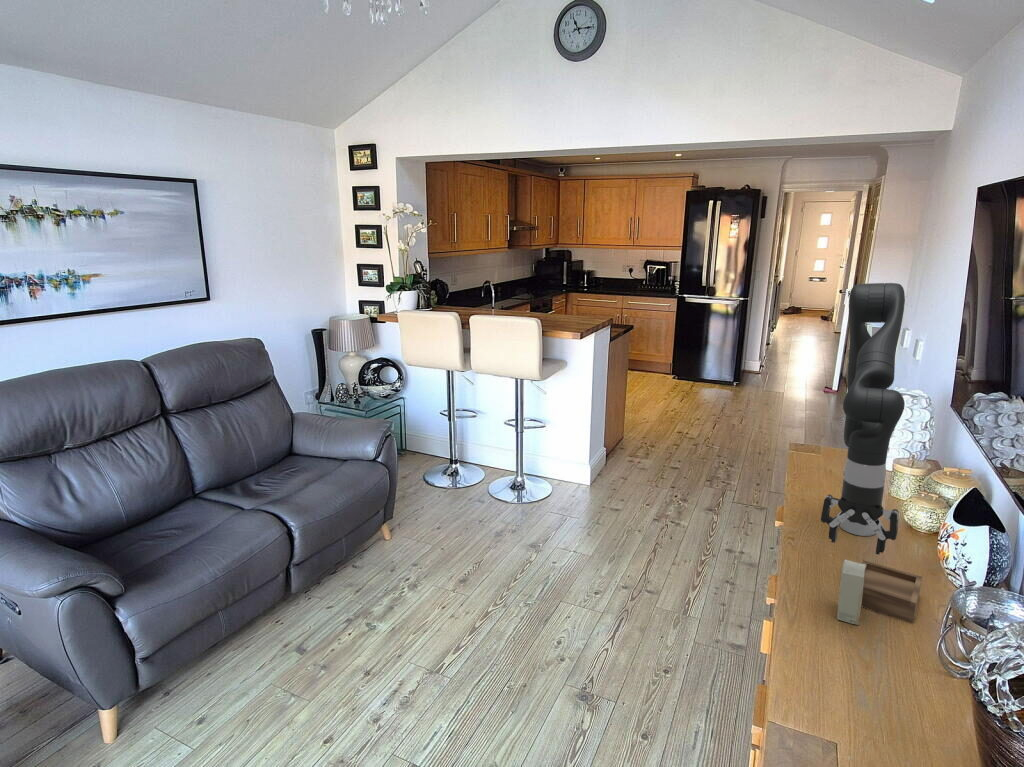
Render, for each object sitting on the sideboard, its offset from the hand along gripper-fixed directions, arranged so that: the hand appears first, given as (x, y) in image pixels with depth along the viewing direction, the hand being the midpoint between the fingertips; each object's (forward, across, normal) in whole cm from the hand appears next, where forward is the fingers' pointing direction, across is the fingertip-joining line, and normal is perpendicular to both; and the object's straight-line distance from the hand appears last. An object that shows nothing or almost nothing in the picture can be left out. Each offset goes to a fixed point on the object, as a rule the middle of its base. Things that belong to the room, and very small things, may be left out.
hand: (855, 546), depth 129 cm
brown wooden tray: (+18, -6, -11) cm, 22 cm away
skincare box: (+18, 0, 0) cm, 18 cm away
